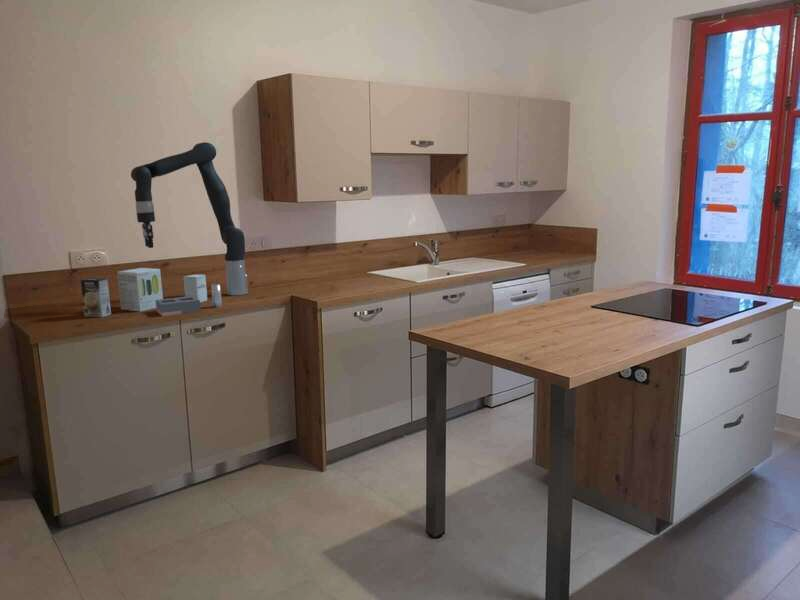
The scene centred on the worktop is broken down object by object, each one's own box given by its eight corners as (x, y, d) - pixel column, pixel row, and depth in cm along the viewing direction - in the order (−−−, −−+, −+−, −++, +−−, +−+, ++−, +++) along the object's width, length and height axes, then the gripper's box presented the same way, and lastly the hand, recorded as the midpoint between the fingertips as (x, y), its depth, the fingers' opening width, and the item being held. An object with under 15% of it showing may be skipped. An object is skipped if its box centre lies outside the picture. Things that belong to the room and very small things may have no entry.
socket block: (193, 306, 288) (192, 295, 287) (200, 311, 276) (199, 300, 275) (156, 311, 280) (155, 299, 279) (162, 316, 268) (161, 304, 267)
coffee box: (83, 316, 272) (79, 279, 269) (94, 313, 278) (89, 277, 275) (102, 317, 270) (98, 280, 267) (112, 314, 276) (108, 277, 273)
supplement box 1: (140, 311, 279) (136, 272, 276) (120, 309, 286) (116, 271, 282) (164, 306, 291) (160, 268, 287) (145, 304, 297) (141, 267, 294)
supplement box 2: (198, 303, 295) (195, 276, 293) (185, 303, 298) (182, 276, 295) (208, 300, 302) (205, 274, 300) (195, 300, 304) (192, 274, 302)
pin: (220, 305, 289) (219, 283, 287) (223, 306, 285) (221, 284, 283) (211, 306, 287) (210, 284, 285) (214, 307, 283) (212, 285, 282)
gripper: (156, 211, 282) (160, 247, 286) (151, 210, 295) (155, 245, 298) (138, 212, 279) (142, 249, 282) (134, 211, 291) (138, 246, 294)
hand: (149, 247), depth 290 cm, fingers open, 8 cm apart
